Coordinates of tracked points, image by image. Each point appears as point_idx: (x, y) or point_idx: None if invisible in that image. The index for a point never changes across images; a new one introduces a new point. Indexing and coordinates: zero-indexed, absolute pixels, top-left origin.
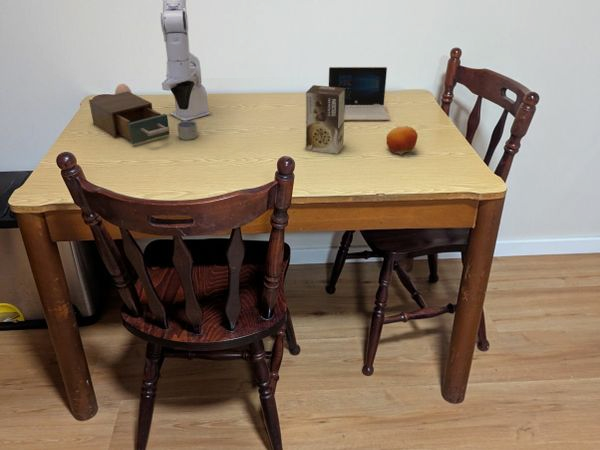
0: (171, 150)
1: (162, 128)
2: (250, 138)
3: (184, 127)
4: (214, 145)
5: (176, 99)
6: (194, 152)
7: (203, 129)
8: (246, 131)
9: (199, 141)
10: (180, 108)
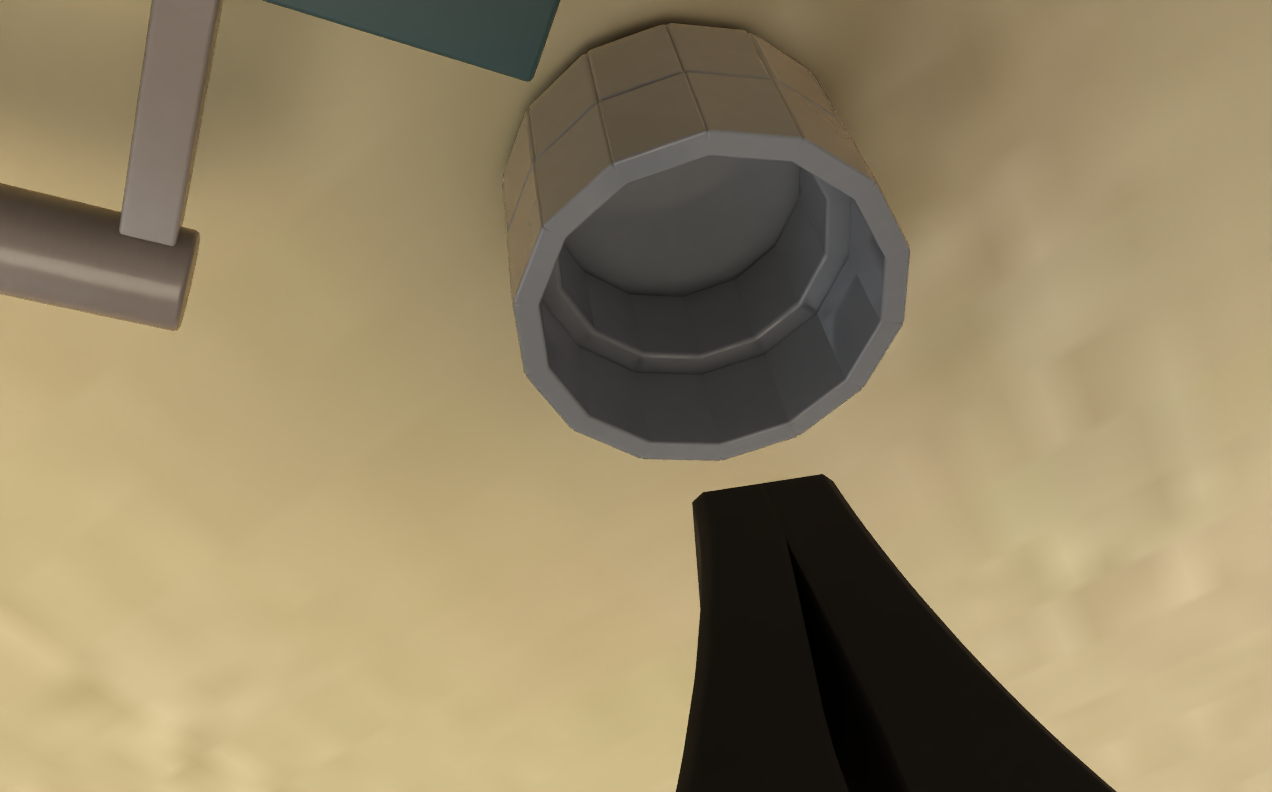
0: None
1: (10, 290)
2: None
3: (545, 378)
4: (588, 598)
5: (691, 729)
6: (259, 560)
7: (1074, 169)
8: (1133, 613)
9: None
10: (697, 537)
